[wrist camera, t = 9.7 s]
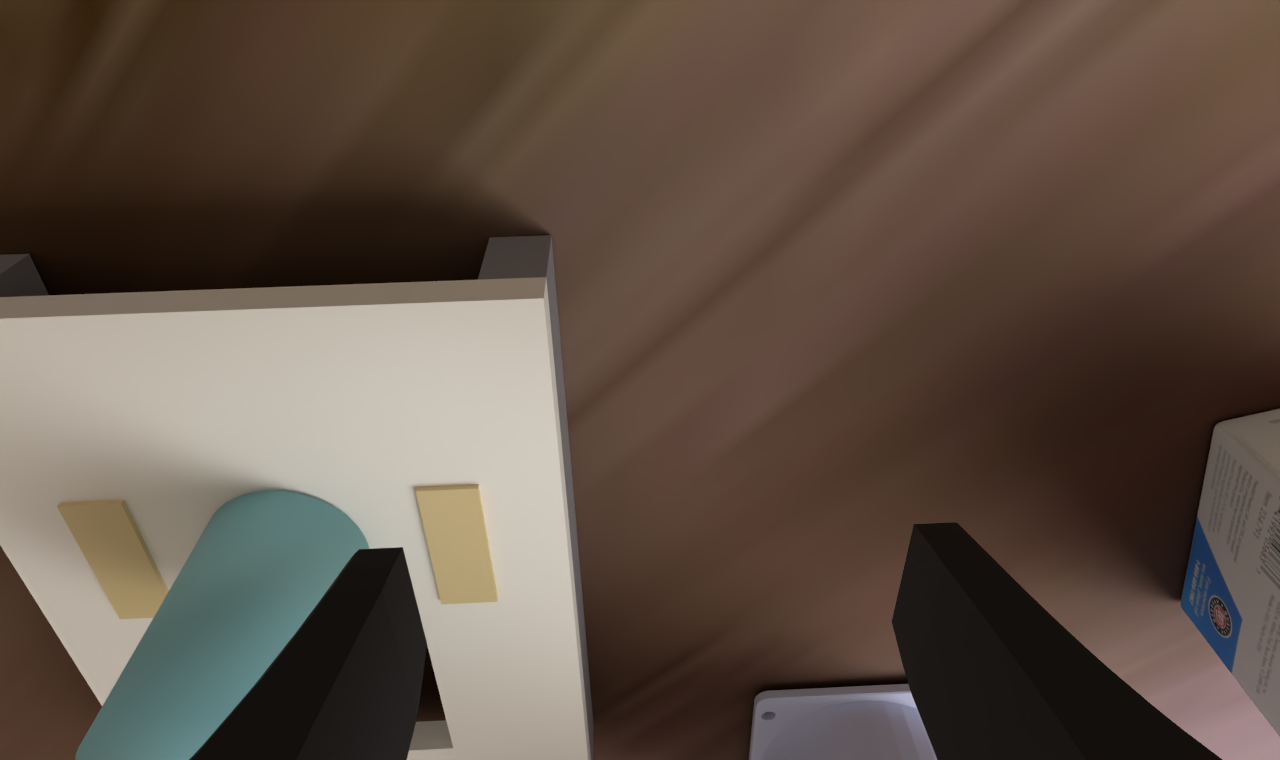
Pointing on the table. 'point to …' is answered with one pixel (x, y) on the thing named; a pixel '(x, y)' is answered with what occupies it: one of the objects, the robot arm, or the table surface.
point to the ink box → (1241, 556)
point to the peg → (222, 623)
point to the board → (312, 467)
